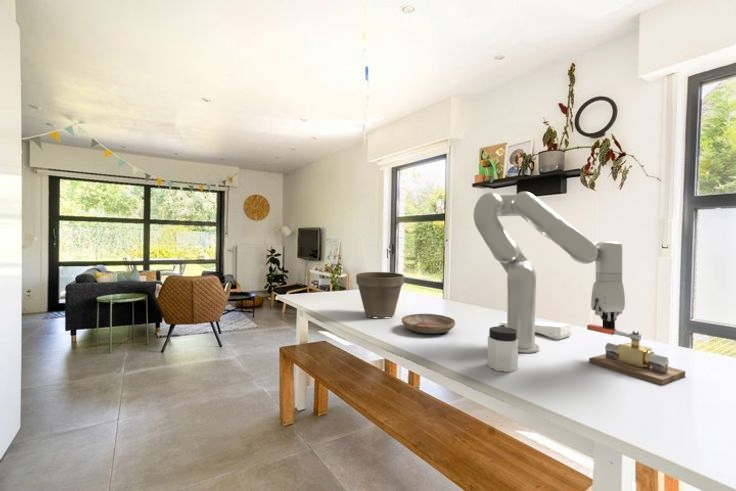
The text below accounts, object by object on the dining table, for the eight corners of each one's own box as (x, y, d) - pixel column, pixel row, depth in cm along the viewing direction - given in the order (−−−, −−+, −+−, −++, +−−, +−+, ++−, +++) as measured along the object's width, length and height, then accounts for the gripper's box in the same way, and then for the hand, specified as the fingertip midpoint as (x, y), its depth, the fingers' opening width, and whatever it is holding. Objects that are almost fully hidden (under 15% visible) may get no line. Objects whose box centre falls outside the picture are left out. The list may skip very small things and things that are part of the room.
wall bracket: (501, 338, 166) (562, 345, 143) (497, 323, 165) (558, 328, 142) (513, 330, 171) (573, 335, 148) (509, 315, 171) (569, 319, 148)
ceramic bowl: (391, 332, 154) (391, 320, 154) (416, 321, 174) (416, 311, 174) (442, 341, 141) (442, 328, 141) (463, 328, 160) (463, 317, 160)
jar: (487, 370, 110) (488, 331, 110) (487, 361, 118) (487, 325, 118) (519, 373, 107) (519, 334, 107) (516, 364, 115) (517, 327, 115)
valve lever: (642, 339, 111) (643, 332, 111) (638, 340, 110) (638, 333, 110) (591, 328, 124) (591, 322, 124) (586, 329, 123) (587, 322, 123)
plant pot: (401, 322, 171) (402, 277, 170) (351, 320, 175) (351, 276, 174) (405, 312, 195) (405, 272, 195) (361, 310, 199) (361, 271, 199)
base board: (661, 385, 100) (661, 379, 100) (589, 362, 117) (589, 358, 117) (685, 376, 106) (685, 371, 106) (612, 356, 124) (613, 351, 124)
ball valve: (661, 374, 104) (661, 347, 103) (603, 357, 118) (603, 334, 117) (669, 371, 106) (670, 345, 106) (612, 355, 120) (612, 332, 120)
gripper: (615, 276, 127) (615, 327, 127) (581, 277, 122) (581, 331, 123) (636, 278, 119) (636, 333, 120) (601, 280, 115) (601, 336, 116)
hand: (608, 331), depth 121 cm, fingers closed
